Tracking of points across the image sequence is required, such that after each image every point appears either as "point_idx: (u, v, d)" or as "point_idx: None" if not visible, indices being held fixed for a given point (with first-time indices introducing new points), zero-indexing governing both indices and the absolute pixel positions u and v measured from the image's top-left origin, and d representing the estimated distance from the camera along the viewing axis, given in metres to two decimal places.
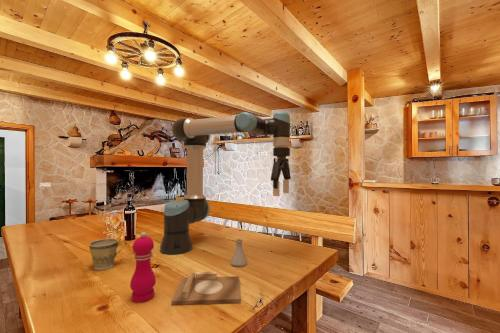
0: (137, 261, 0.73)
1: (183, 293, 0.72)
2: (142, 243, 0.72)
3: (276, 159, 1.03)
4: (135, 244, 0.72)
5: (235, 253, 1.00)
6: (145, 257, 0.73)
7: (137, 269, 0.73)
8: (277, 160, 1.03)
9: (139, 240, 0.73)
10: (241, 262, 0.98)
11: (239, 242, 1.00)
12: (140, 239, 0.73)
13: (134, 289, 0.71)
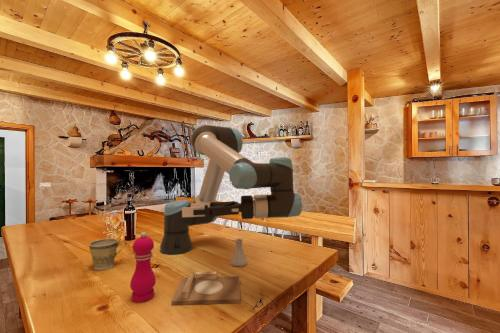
0: (137, 261, 0.73)
1: (183, 293, 0.72)
2: (142, 243, 0.72)
3: (235, 210, 0.71)
4: (135, 244, 0.72)
5: (235, 253, 1.00)
6: (145, 257, 0.73)
7: (137, 269, 0.73)
8: (234, 212, 0.71)
9: (139, 240, 0.73)
10: (241, 262, 0.98)
11: (239, 242, 1.00)
12: (140, 239, 0.73)
13: (134, 289, 0.71)
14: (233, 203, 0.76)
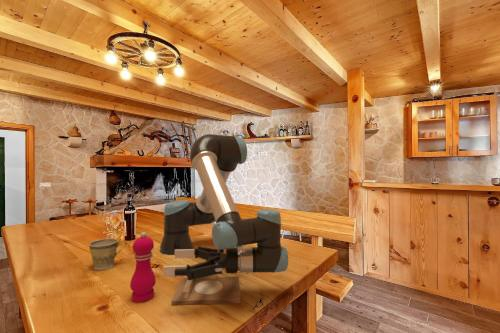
0: (137, 261, 0.73)
1: (183, 293, 0.72)
2: (142, 243, 0.72)
3: (219, 270, 0.69)
4: (135, 244, 0.72)
5: None
6: (145, 257, 0.73)
7: (137, 269, 0.73)
8: (217, 271, 0.69)
9: (139, 240, 0.73)
10: None
11: None
12: (140, 239, 0.73)
13: (134, 289, 0.71)
14: (217, 258, 0.74)
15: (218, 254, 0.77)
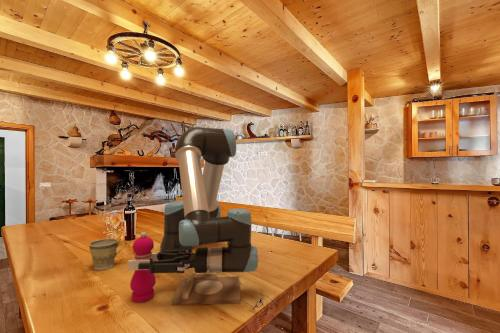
0: None
1: (183, 293, 0.72)
2: (142, 243, 0.72)
3: (180, 269, 0.69)
4: (135, 244, 0.72)
5: None
6: (145, 257, 0.73)
7: None
8: (179, 270, 0.69)
9: (139, 240, 0.73)
10: None
11: None
12: (140, 239, 0.73)
13: (134, 289, 0.71)
14: (185, 257, 0.74)
15: (189, 253, 0.77)
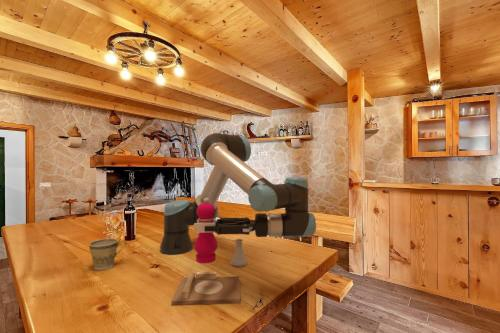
0: None
1: (183, 293, 0.72)
2: (206, 207, 0.76)
3: (246, 230, 0.73)
4: (200, 208, 0.76)
5: (235, 253, 1.00)
6: (209, 221, 0.76)
7: None
8: (244, 232, 0.73)
9: (203, 205, 0.77)
10: (241, 262, 0.98)
11: (239, 242, 1.00)
12: (204, 204, 0.77)
13: (200, 250, 0.75)
14: (247, 221, 0.77)
15: (248, 219, 0.80)
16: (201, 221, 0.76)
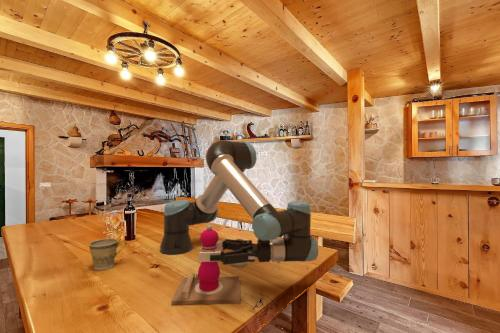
0: None
1: (183, 293, 0.72)
2: (210, 235, 0.76)
3: (252, 258, 0.73)
4: (203, 236, 0.76)
5: None
6: (212, 248, 0.77)
7: None
8: (250, 259, 0.73)
9: (207, 232, 0.77)
10: None
11: None
12: (207, 231, 0.77)
13: (203, 279, 0.75)
14: (250, 247, 0.77)
15: (251, 244, 0.80)
16: (204, 249, 0.76)
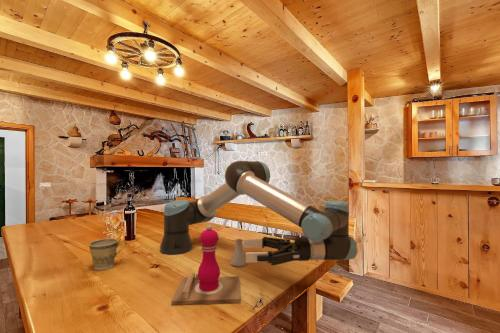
0: (205, 252, 0.77)
1: (183, 293, 0.72)
2: (210, 235, 0.76)
3: (297, 256, 0.73)
4: (203, 236, 0.76)
5: (235, 253, 1.00)
6: (212, 248, 0.77)
7: (205, 260, 0.77)
8: (295, 258, 0.73)
9: (206, 232, 0.77)
10: (241, 262, 0.98)
11: (239, 242, 1.00)
12: (207, 231, 0.77)
13: (203, 279, 0.75)
14: (291, 246, 0.78)
15: (289, 243, 0.81)
16: (204, 249, 0.76)
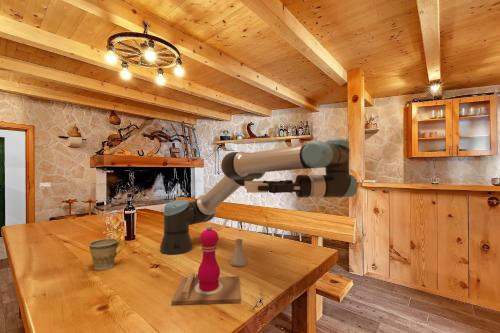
0: (205, 252, 0.77)
1: (183, 293, 0.72)
2: (210, 235, 0.76)
3: (297, 188, 0.74)
4: (203, 236, 0.76)
5: (235, 253, 1.00)
6: (212, 248, 0.77)
7: (205, 260, 0.77)
8: (296, 189, 0.74)
9: (206, 232, 0.77)
10: (241, 262, 0.98)
11: (239, 242, 1.00)
12: (207, 231, 0.77)
13: (203, 279, 0.75)
14: (291, 181, 0.78)
15: None
16: (204, 249, 0.76)
